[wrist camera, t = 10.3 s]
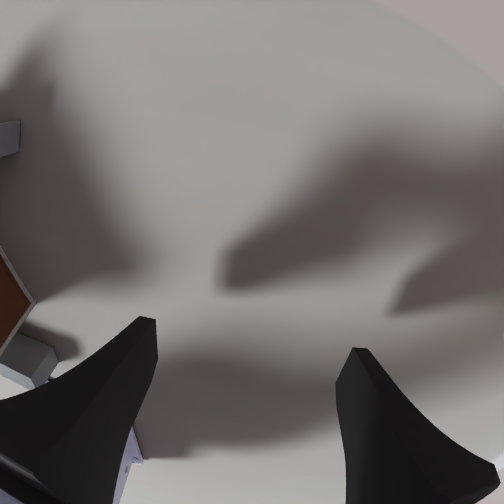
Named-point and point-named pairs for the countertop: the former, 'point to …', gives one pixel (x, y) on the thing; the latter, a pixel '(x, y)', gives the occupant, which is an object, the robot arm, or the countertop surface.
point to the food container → (11, 302)
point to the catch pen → (20, 347)
